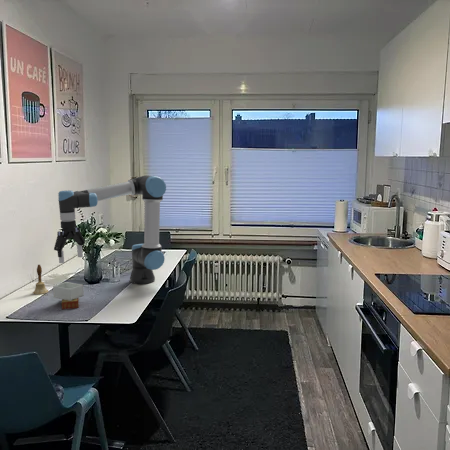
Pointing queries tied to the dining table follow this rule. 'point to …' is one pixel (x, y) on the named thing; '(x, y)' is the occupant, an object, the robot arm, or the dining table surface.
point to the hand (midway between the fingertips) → (71, 260)
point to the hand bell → (40, 283)
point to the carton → (70, 304)
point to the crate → (68, 291)
